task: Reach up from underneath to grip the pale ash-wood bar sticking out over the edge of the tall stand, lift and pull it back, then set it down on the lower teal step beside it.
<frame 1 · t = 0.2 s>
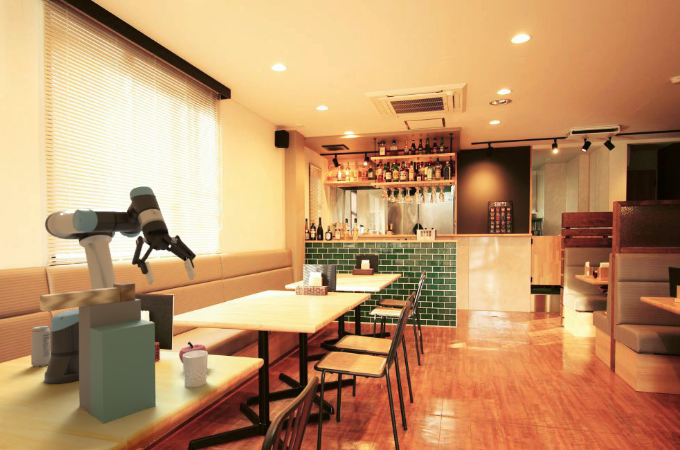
hand: (173, 279, 125), 36 cm above the table, tool tilted 35°, fingers open, 13 cm apart
stand: (117, 405, 117), on the table
wooden bar: (90, 304, 117), point 30 cm above the table, touching stand
white cup: (195, 384, 133), on the table
energy drink can: (41, 365, 158), on the table
apple: (193, 369, 149), on the table
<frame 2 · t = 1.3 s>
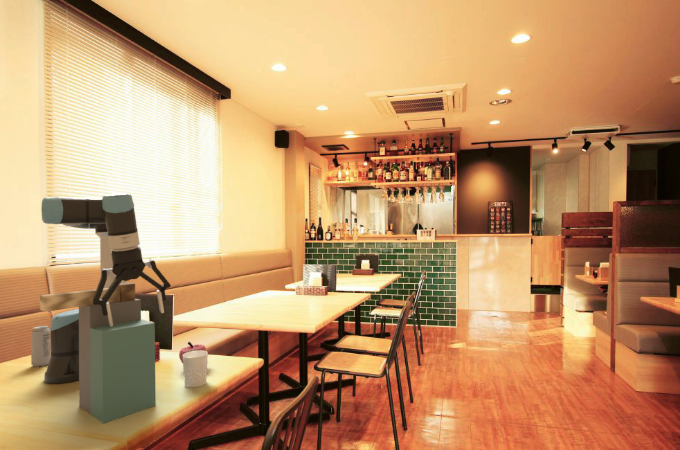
hand: (137, 318, 117), 25 cm above the table, tool pointing down, fingers open, 13 cm apart
nothing on the table moved.
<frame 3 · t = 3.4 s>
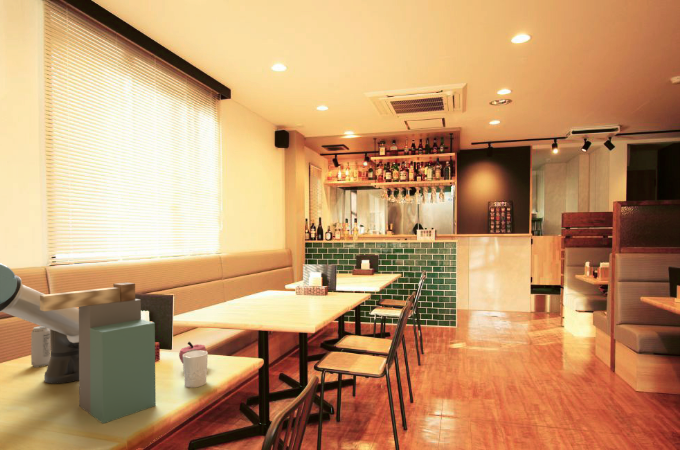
nothing on the table moved.
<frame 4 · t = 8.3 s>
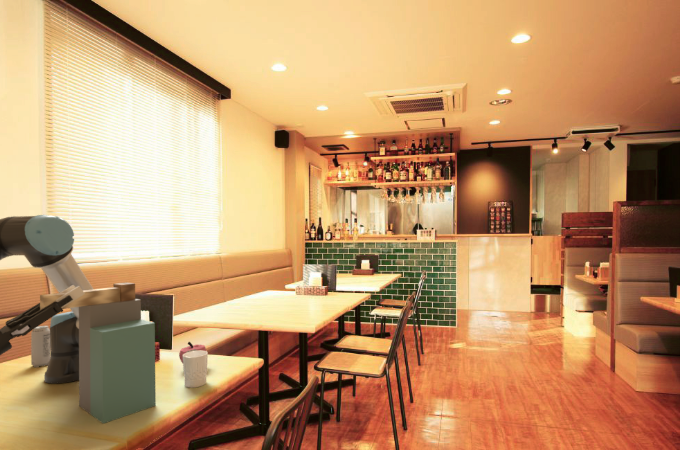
hand: (78, 289, 115), 35 cm above the table, tool pointing upward, fingers closed on wooden bar, 4 cm apart
wooden bar: (90, 304, 117), point 30 cm above the table, touching gripper, stand
everything else where it was.
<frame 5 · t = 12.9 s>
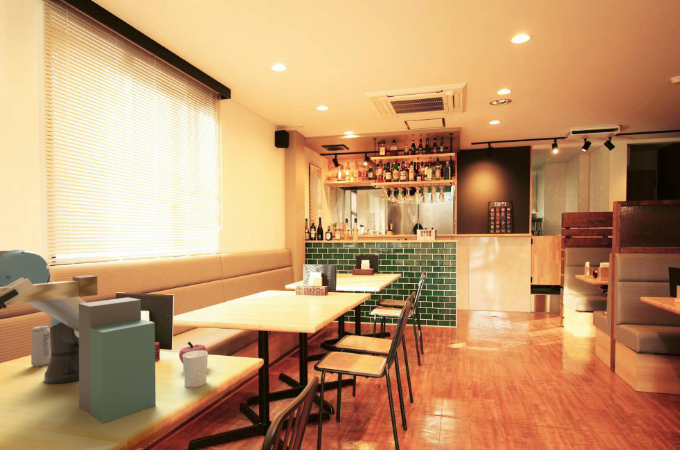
hand: (28, 282, 98), 39 cm above the table, tool pointing upward, fingers closed on wooden bar, 4 cm apart
wooden bar: (42, 299, 100), point 34 cm above the table, touching gripper
everything else where it was.
when the fingers open (30 cm above the table, at t = 17.6 s): wooden bar drops 1 cm, resting on stand.
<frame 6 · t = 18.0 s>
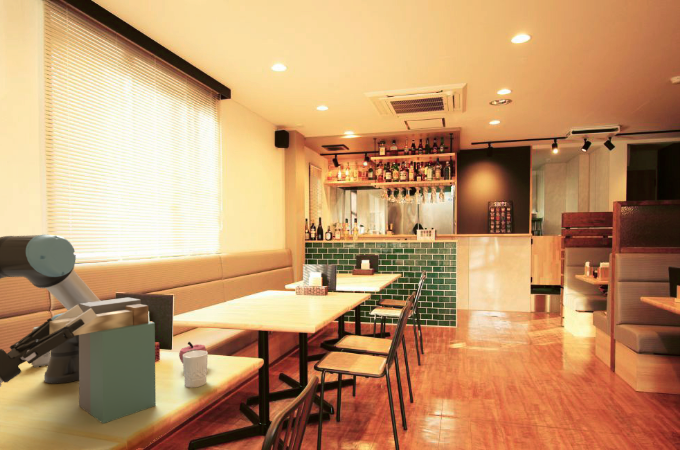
hand: (86, 310, 108), 30 cm above the table, tool pointing upward, fingers open, 9 cm apart
wooden bar: (101, 329, 111), point 24 cm above the table, touching stand
everything else where it was.
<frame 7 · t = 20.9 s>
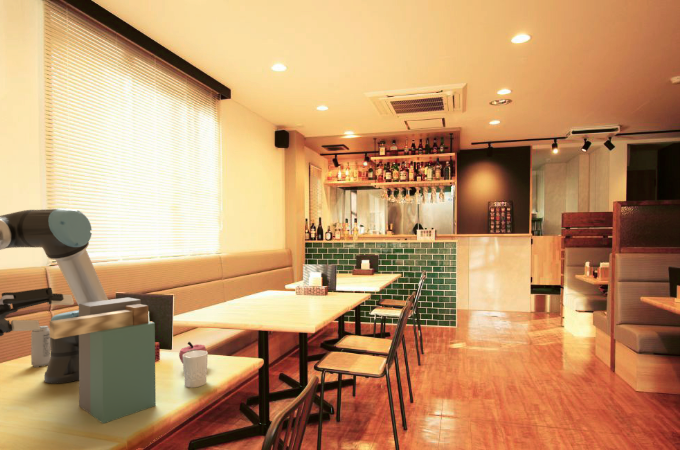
hand: (55, 312, 110), 29 cm above the table, tool horizontal, fingers open, 13 cm apart
nothing on the table moved.
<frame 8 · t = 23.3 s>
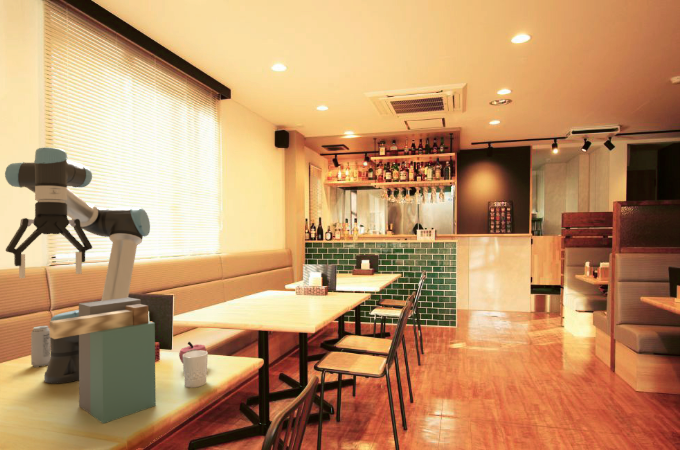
hand: (51, 275, 115), 39 cm above the table, tool pointing down, fingers open, 13 cm apart
nothing on the table moved.
at the end: wooden bar inside the target area (0.2 cm from its centre), point 24.0 cm above the table; wooden bar tilted 0°; the gripper is holding nothing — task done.
